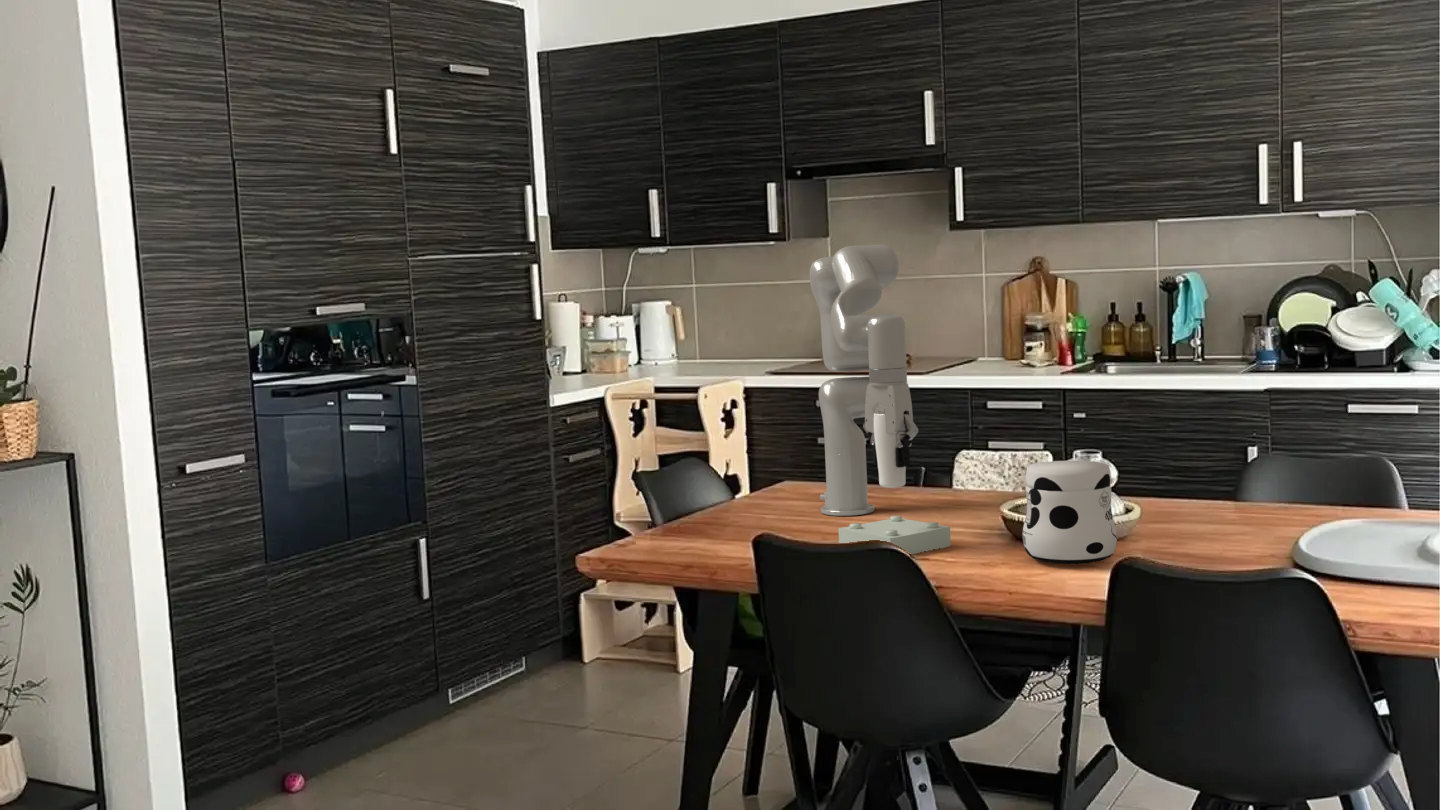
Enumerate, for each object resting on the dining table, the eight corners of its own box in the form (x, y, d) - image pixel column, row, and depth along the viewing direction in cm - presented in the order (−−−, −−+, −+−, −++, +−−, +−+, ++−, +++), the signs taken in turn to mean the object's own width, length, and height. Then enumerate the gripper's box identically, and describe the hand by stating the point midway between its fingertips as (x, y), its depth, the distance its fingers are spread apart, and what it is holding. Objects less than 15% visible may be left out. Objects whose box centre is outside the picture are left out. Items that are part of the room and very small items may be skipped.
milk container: (1137, 559, 260) (1135, 465, 258) (1072, 574, 251) (1070, 476, 249) (1067, 547, 274) (1065, 457, 273) (1004, 560, 265) (1001, 467, 263)
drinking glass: (905, 488, 277) (902, 414, 276) (872, 488, 279) (869, 414, 278) (912, 483, 283) (909, 410, 282) (880, 483, 286) (877, 410, 284)
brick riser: (839, 547, 285) (838, 524, 284) (897, 536, 294) (896, 513, 293) (891, 558, 272) (890, 534, 271) (950, 546, 281) (949, 522, 280)
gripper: (846, 377, 284) (850, 464, 286) (903, 379, 270) (906, 471, 272) (874, 374, 289) (877, 459, 290) (931, 376, 274) (934, 466, 276)
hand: (891, 464), depth 281 cm, fingers closed on drinking glass, 6 cm apart
